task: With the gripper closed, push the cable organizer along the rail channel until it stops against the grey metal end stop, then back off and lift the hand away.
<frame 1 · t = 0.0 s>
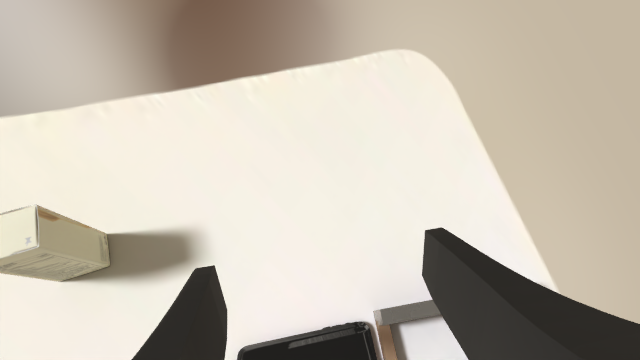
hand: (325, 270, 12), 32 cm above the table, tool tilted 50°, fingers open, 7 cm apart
skincare box: (82, 257, 43), on the table
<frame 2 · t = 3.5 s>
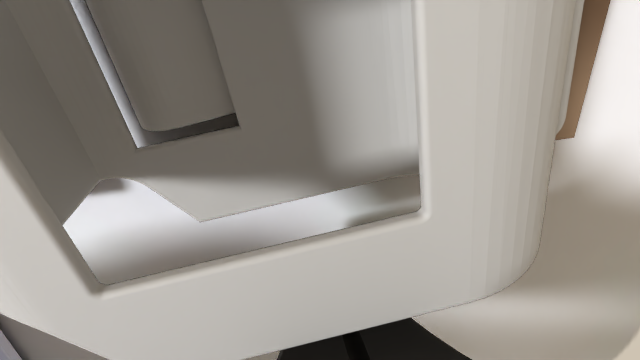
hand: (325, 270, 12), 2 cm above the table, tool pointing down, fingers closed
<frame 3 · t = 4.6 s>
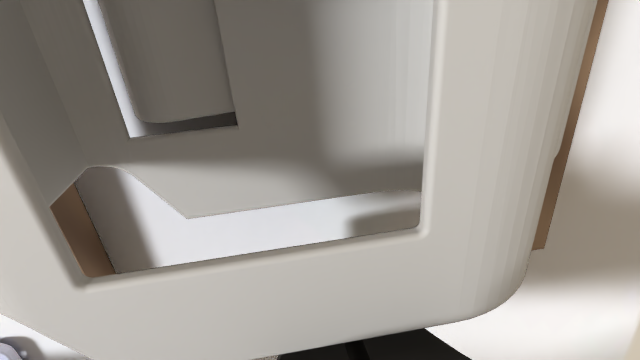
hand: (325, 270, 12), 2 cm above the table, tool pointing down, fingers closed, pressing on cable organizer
rail channel: (299, 88, 11), on the table
cable organizer: (277, 0, 10), resting in rail channel, touching gripper
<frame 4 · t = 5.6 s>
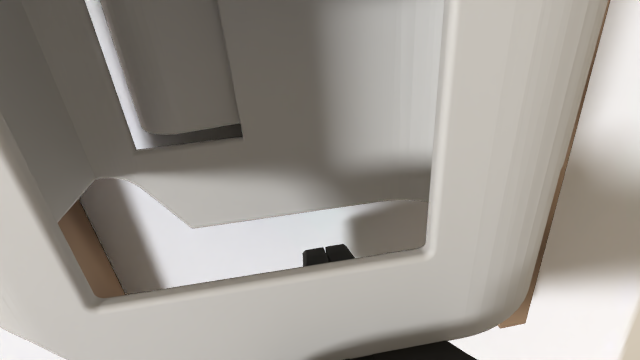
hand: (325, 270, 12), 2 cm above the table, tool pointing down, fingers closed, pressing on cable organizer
rail channel: (311, 205, 13), on the table
cable organizer: (282, 13, 10), resting in rail channel, touching gripper
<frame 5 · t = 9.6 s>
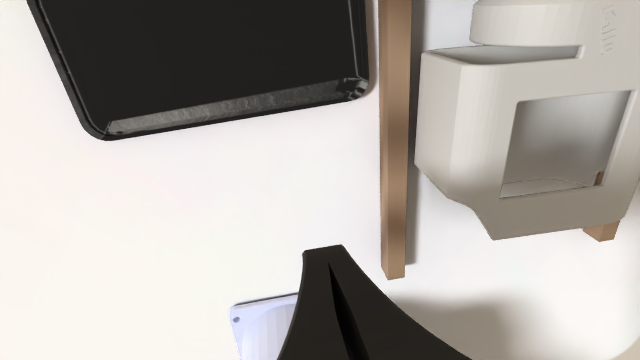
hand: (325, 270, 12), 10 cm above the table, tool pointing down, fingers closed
phone: (218, 40, 19), on the table
rail channel: (506, 162, 24), on the table
cable organizer: (502, 88, 22), resting in rail channel
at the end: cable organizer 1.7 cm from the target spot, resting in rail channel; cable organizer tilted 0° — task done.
